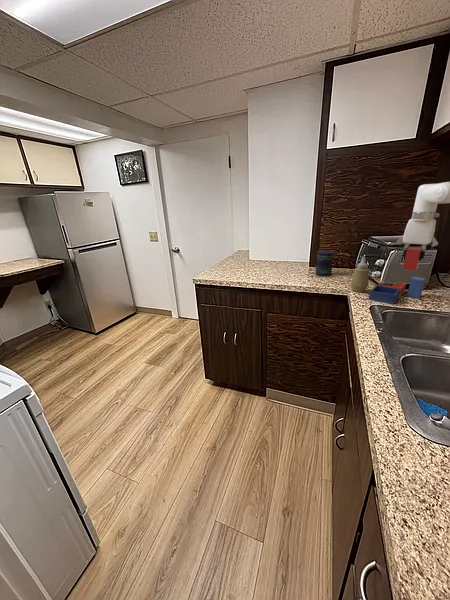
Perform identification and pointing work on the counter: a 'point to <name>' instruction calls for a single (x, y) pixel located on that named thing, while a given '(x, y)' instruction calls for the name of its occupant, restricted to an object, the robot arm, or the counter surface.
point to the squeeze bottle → (360, 277)
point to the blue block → (416, 287)
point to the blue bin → (384, 294)
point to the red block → (412, 258)
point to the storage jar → (324, 263)
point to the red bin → (396, 286)
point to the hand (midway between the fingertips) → (412, 258)
